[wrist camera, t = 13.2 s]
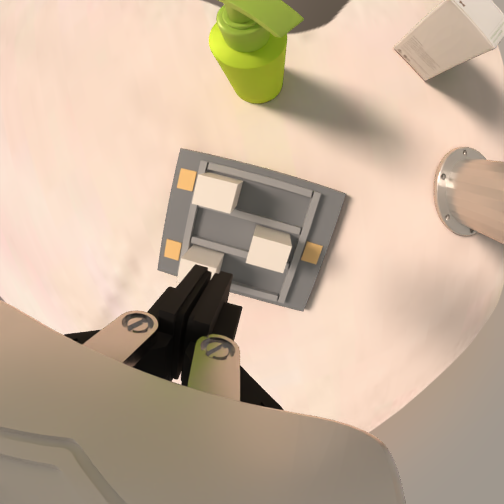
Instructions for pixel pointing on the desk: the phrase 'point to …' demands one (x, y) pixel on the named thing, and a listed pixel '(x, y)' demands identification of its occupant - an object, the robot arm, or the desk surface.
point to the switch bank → (252, 226)
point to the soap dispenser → (253, 45)
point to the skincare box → (452, 36)
